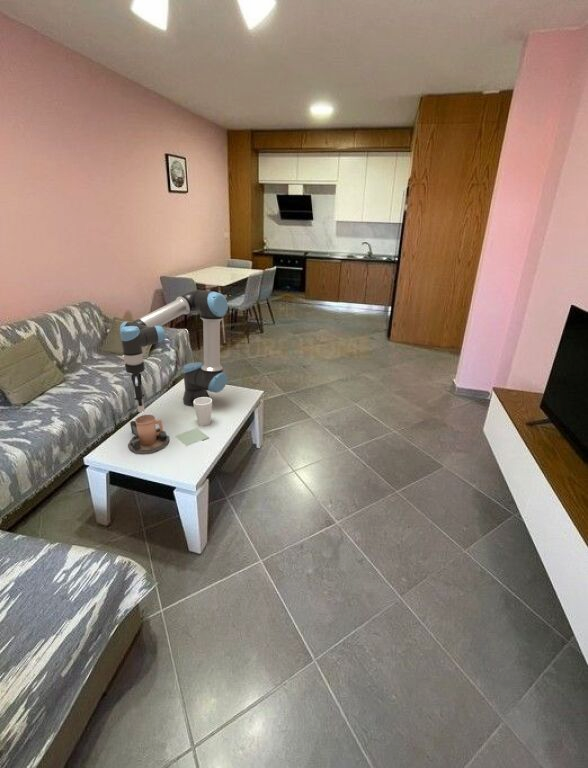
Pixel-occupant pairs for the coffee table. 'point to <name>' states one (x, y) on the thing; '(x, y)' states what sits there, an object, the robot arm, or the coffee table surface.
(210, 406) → the foam cup
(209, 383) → the robot arm
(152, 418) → the terracotta mug
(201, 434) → the mat
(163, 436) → the collar
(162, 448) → the base plate
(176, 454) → the coffee table surface
